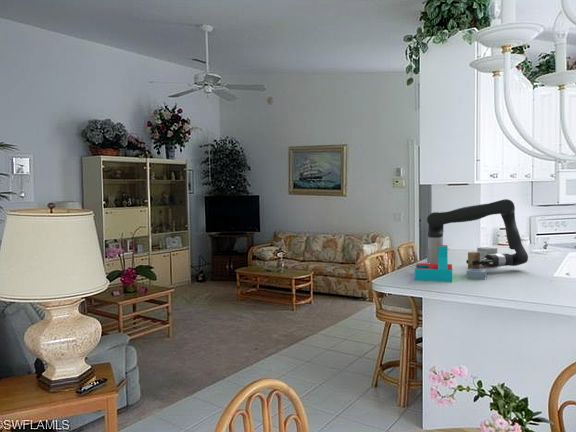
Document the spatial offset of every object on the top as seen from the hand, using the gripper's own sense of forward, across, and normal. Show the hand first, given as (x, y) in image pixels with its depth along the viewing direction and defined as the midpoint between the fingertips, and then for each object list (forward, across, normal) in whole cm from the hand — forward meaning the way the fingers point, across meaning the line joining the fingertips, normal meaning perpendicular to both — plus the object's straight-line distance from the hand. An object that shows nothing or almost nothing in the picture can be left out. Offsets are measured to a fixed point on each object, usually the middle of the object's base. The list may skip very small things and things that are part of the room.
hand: (469, 262), depth 267 cm
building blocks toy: (+23, 0, +7) cm, 24 cm away
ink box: (-25, -17, +7) cm, 31 cm away
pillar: (-3, 0, +6) cm, 7 cm away
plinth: (+4, +11, +7) cm, 13 cm away
